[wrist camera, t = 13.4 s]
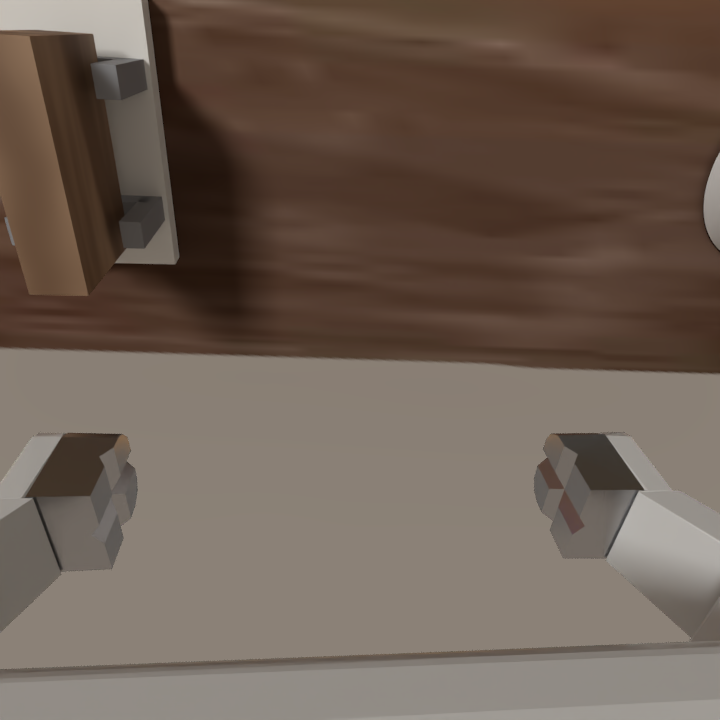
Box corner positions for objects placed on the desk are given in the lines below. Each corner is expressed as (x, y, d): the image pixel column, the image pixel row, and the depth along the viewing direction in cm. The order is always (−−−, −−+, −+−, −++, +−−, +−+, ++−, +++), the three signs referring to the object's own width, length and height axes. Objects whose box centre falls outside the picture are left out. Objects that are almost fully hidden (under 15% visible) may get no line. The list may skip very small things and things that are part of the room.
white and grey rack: (147, -5, 31) (109, -13, 25) (179, 256, 39) (157, 297, 33) (0, -17, 30) (-75, -27, 24) (65, 253, 38) (21, 295, 33)
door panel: (93, 33, 29) (29, 36, 22) (129, 244, 35) (88, 295, 29) (15, 28, 29) (-74, 29, 22) (66, 242, 35) (9, 294, 28)
